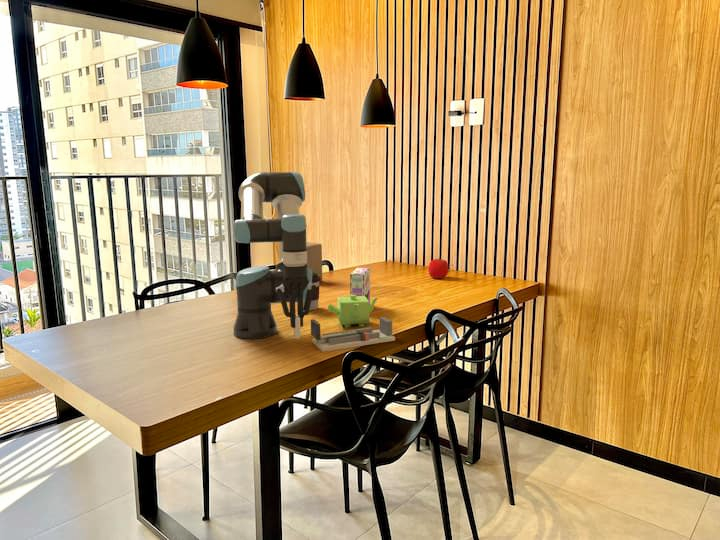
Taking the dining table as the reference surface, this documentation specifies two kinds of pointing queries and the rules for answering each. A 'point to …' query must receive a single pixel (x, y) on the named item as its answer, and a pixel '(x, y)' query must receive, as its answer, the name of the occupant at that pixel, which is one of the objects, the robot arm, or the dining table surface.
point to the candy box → (360, 282)
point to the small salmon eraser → (366, 336)
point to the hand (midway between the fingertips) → (297, 336)
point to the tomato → (438, 268)
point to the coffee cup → (316, 292)
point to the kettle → (353, 310)
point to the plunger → (325, 338)
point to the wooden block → (314, 257)
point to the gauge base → (359, 337)
